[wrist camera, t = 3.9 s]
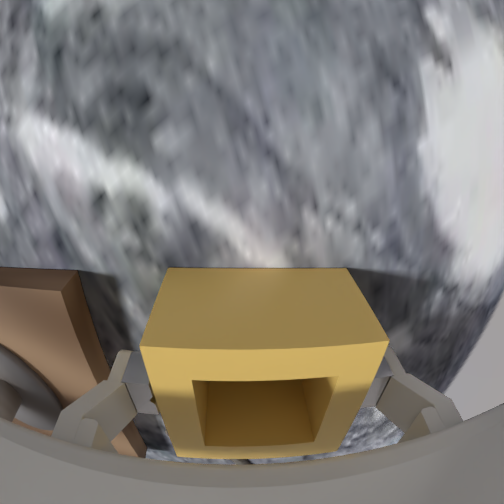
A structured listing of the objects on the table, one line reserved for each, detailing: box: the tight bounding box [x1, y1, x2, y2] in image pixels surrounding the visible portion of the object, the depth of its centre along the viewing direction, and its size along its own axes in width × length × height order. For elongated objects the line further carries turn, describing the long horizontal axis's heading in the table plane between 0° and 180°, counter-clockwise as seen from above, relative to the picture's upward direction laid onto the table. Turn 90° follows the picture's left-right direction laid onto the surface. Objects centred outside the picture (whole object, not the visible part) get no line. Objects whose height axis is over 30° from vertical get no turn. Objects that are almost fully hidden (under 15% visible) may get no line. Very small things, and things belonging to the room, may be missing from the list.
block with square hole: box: [139, 268, 390, 459], centre depth 10 cm, size 6×6×4 cm
